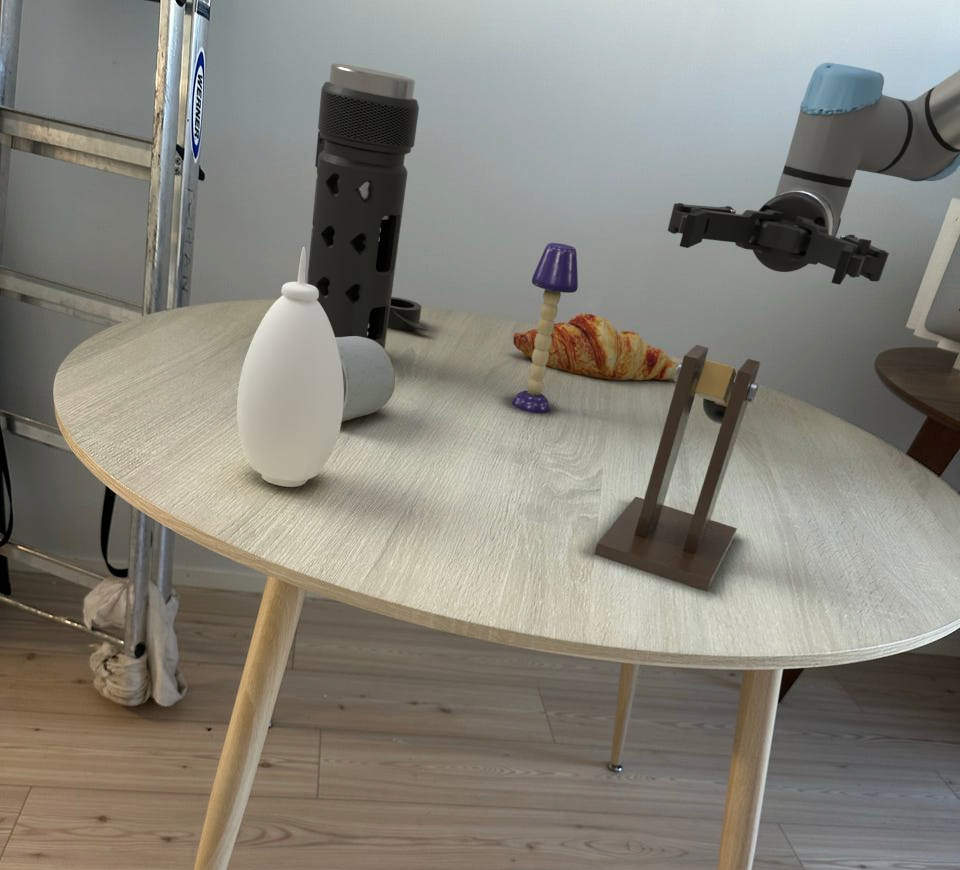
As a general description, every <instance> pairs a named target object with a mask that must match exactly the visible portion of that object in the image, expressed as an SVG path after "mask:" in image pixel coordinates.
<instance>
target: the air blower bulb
mask: <svg viewBox="0 0 960 870" xmlns="http://www.w3.org/2000/svg"><path fill="white" fill-rule="evenodd" d="M300 253H301V254H300V258H299V259H300V260H299V267H298V273H297V281H288V282H285V283H284V284H283V285H282V287H281V296H280V297H279V298H278V299H277V300H275V302H274V303H273V304H272V305H271V306H270V307H269V309H268V310H267V311H266V313H265V315H264V316H263V318H262V320H261V322H260V323H259V325H258V326H257V329H256V331H255V333H254V336H253V338H252V340H251V342H250V345H249V347H248V350H247V351H246V352H247V353H246V355H245V359H244V361H243V365H242V368H241V372H240V377H239V383H238V388H237V396H236V397H237V399H236V418H237V419H236V421H237V422H236V423H237V430H238V434H239V440H240V443H241V446H242V449H243V452H244V455H245V457H246V459H247V461H248V463H249V466H250V467H251V468H252V469H253V470H254V471H255V472H256V473H259V475H260V474H261V478H262V479H263V480H264V481H265V482H267V483H269V484H271V485H275V486H279V487H285V488H296V487H301V486H303V485H305V484H306V483H307V482H308V480H311V479H313V478H315V477H316V476H317V475H319V474H320V472H321V471H322V470H323V468H324V467H325V466H326V464H327V462H328V461H329V459H330V457H331V455H332V454H333V452H334V449H335V447H336V444H337V442H338V439H339V436H340V432H341V428H342V427H341V426H342V422H341V421H342V414H343V402H344V385H343V373H342V366H341V360H340V355H339V350H338V346H337V342H336V339H335V336H334V332H333V330H332V327H331V324H330V322H329V320H328V317H327V315H326V313H325V311H324V309H323V308H322V306H321V305H320V303H319V302H318V301H317V300H316V299H318V297H319V291H318V289H317V288H316V287H315V286H312V285H310V284H307V282H306V266H307V264H306V263H307V262H306V261H307V257H306V254H307V253H306V248H305V247H304V246H303V247H302V249H301V252H300Z"/></svg>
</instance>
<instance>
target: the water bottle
mask: <svg viewBox="0 0 960 870" xmlns="http://www.w3.org/2000/svg"><path fill="white" fill-rule="evenodd" d="M329 72H330V74H329V81H325V82H324V83H323V85H322V87H321V89H320V102H319V111H318V112H319V113H318V123H317V130H318V132H317V141H316V153H315V164H314V167H316V168H317V169H316V175H317V176H316V179H315V191H314V199H313V201H314V202H313V214H312V228H311V234H310V235H311V236H310V244H309V246H310V247H309V256H308V257H309V258H308V268H307V282H306V284H310V285H312V286H315V287H316V288H317V289H318V291H319V297H318V299H316V300H317V301H318V302H319V303H320V305H321V306H322V308H323V309H324V311H325V313H326V315H327V317H328V320H329V322H330V324H331V327H332V330H333V332H334V336H335V337H348V336H359V337H364V338H368V339H371V340H374V341H375V342H377V343H378V344H380V345H381V346H382V347H383V348H384V349H385V350H386V342H387V334H388V328H387V327H388V319H389V312H390V304H391V297H393V296H392V295H393V288H394V281H395V280H394V279H395V272H396V265H397V257H398V249H399V241H400V235H401V226H402V218H403V211H404V203H405V196H406V188H407V180H408V169H407V167H406V166H405V165H404V164H405V158H406V155H407V154H411V152H412V148H414V147H415V142H416V141H415V140H416V134H417V128H418V127H417V126H418V119H419V111H420V107H419V102H418V99H417V98H414V95H415V93H414V92H415V86H416V81H415V80H414V79H413V78H411V77H407V76H403V75H399V74H395V73H391V72H386V71H381V70H376V69H371V68H367V67H361V66H355V65H351V64H343V63H331V64H330V71H329Z"/></svg>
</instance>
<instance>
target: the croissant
mask: <svg viewBox="0 0 960 870" xmlns="http://www.w3.org/2000/svg"><path fill="white" fill-rule="evenodd" d="M537 334H538V330H537V328H533V329H530V330H528V331H526V332H523V333H522V332H514V333H513V338H512V339H513V345H514V347H515V348H516V349H517V350H518V351H520V352H522V354H524V355H525V357H527V358H530V359H532V354H533V351H534V349H535V344H534V343H535V337H536V335H537ZM551 339H552V341H551V346H550V348H549V350H548V352H549V359H548V362H547V364H546V367H548V368H551V369H556V370H561V371H566V372H568V373H570V374H573V375H578V376H579V375H580V376H586V377H587V376H588V377H591V378H599V379H603V380H612V381H613V380H614V381H628V380H634V381H644V380H645V381H650V380H652V379H653V380H656V381H666V380H670V379H672V378H674V377H675V373H676V370H677V367H678V365H679V362H677V361H673V360H672V359H671V358H670V357H669V356H668V354H667V353H666V352H664V350H663V349H662V348H655V347H652V346H651V344H649V343H648V342H646V341H645V340H643V338H642V336H640V335H639V333H638V332H634V331H628V330H624V329H621V332H618V330H617V329H616V328H615V326H614V323H612V322H611V321H610V320H609V319H607V318H605V317H602V316H599V315H596V314H592V313H579V314H577V315H576V316H575V317H573V318H572V317H571V318H570V319H569V321H568V322H567V323H566V322H562V321H561V322H557V323H554V330H553V333H552V334H551Z"/></svg>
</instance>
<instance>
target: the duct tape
mask: <svg viewBox="0 0 960 870" xmlns="http://www.w3.org/2000/svg"><path fill="white" fill-rule="evenodd" d="M421 314H422V305H421V304H420V303H418V302H415V301H414V300H410V299H407V298H401V297H396V296H391V304H390V312H389V319H388V327H387V329H391V330H397V331H407V332H408V331H409V332H410V331H416V330H422V331H428V329H427V328H424V327H423V326H421V324H420V320H421Z"/></svg>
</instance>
